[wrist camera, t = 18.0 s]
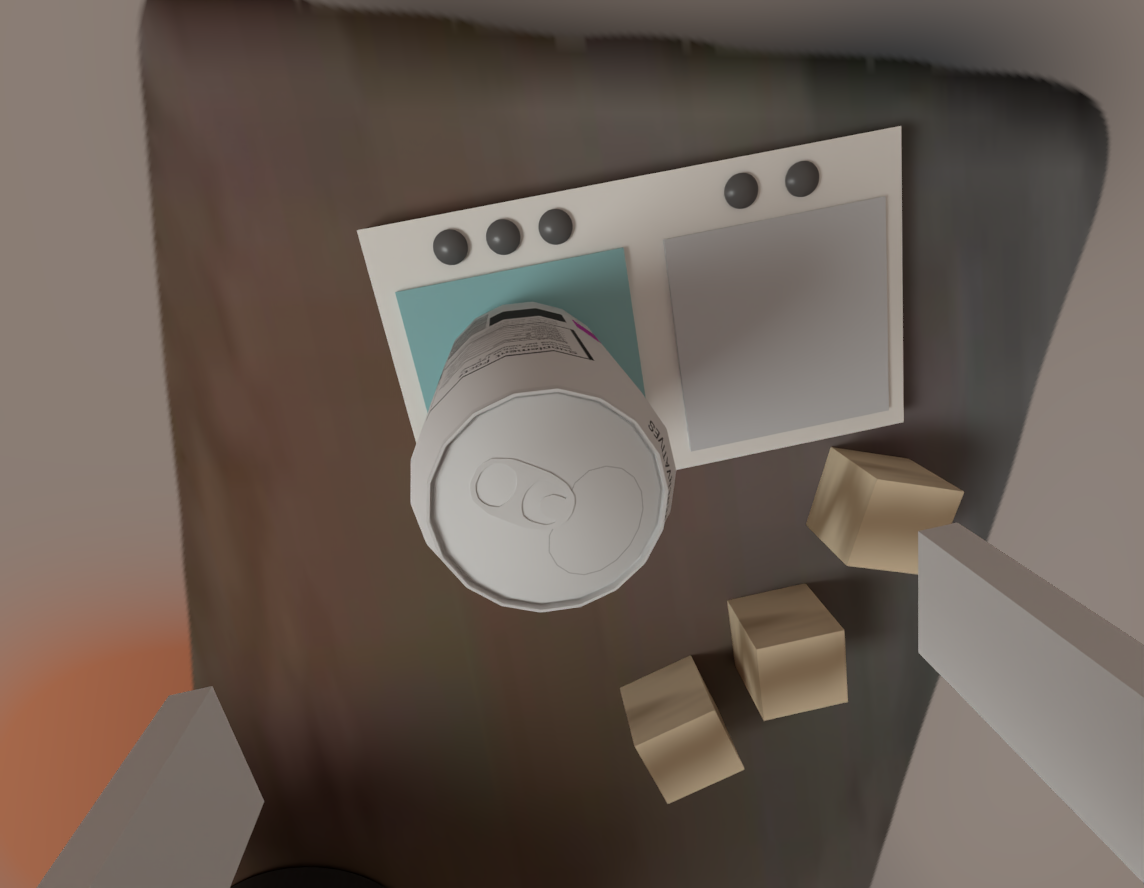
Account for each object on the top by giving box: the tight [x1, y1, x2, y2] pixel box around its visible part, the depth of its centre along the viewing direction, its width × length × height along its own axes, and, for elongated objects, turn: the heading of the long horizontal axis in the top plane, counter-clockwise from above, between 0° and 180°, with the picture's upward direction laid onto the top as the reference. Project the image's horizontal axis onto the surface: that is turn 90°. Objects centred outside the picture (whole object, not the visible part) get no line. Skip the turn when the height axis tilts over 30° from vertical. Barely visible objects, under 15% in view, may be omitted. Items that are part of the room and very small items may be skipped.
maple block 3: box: [806, 447, 964, 574], centre depth 37 cm, size 5×5×5 cm
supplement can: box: [411, 302, 676, 612], centre depth 26 cm, size 8×8×15 cm
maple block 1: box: [620, 655, 745, 804], centre depth 40 cm, size 5×5×5 cm
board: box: [357, 126, 904, 470], centre depth 34 cm, size 15×26×2 cm, turn 100°
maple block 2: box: [727, 583, 848, 721], centre depth 39 cm, size 5×5×5 cm
